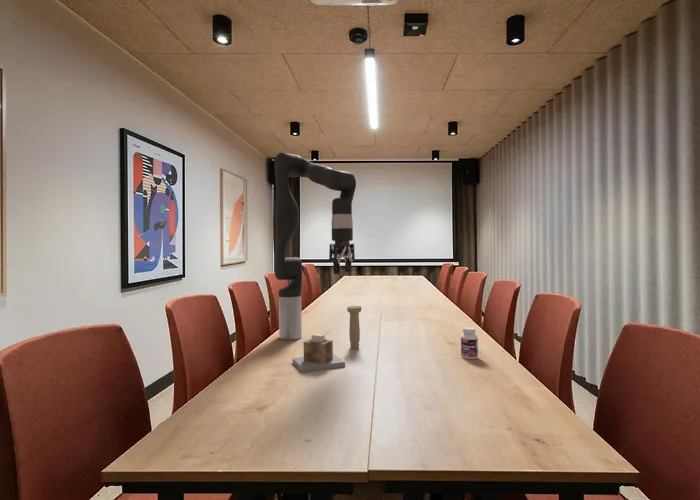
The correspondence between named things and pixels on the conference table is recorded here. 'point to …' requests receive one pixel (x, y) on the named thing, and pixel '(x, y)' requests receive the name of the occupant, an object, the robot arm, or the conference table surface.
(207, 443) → the conference table surface
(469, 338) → the pill bottle
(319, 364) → the base
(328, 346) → the open cubby box
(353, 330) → the handle
